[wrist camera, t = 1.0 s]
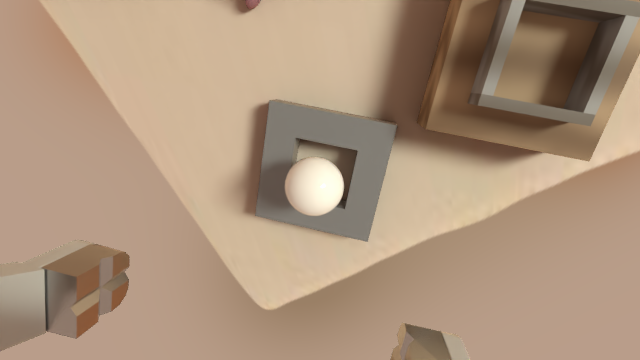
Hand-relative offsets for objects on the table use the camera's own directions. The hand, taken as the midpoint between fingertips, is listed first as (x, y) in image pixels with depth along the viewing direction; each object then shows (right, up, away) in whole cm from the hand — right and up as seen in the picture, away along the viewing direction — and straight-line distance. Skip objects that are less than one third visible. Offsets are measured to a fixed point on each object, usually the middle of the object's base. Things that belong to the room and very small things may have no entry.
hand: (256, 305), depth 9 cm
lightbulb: (+2, +5, +32) cm, 33 cm away
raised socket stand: (+23, +16, +25) cm, 38 cm away
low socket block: (+2, +5, +32) cm, 32 cm away
